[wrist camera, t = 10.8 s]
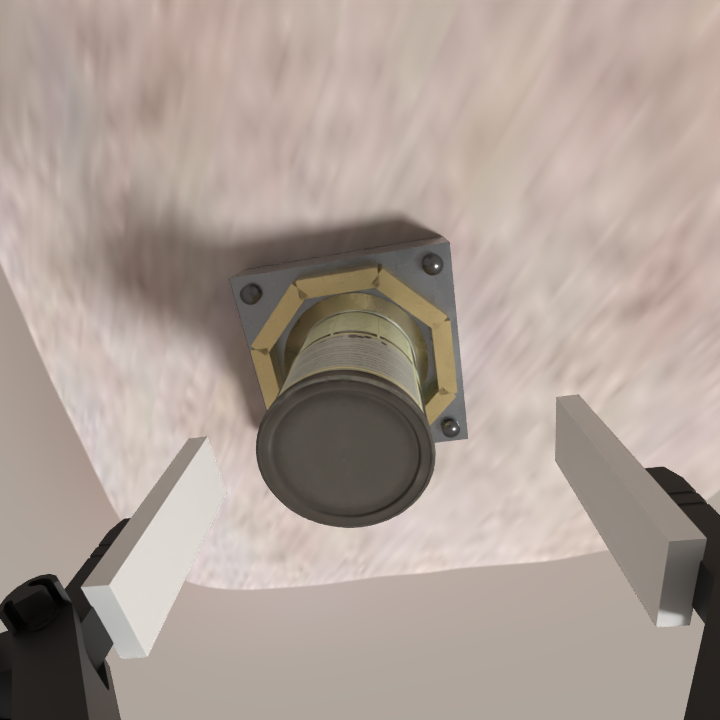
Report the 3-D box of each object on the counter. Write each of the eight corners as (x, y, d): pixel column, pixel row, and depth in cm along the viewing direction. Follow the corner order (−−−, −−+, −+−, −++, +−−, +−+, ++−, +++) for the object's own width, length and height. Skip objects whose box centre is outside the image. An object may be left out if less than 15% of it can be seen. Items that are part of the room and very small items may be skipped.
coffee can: (435, 389, 38) (463, 494, 25) (333, 432, 41) (310, 549, 27) (385, 285, 35) (387, 344, 22) (276, 338, 37) (220, 420, 24)
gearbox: (243, 269, 39) (221, 283, 34) (442, 236, 38) (452, 244, 32) (288, 438, 46) (276, 472, 41) (460, 417, 44) (471, 449, 39)
